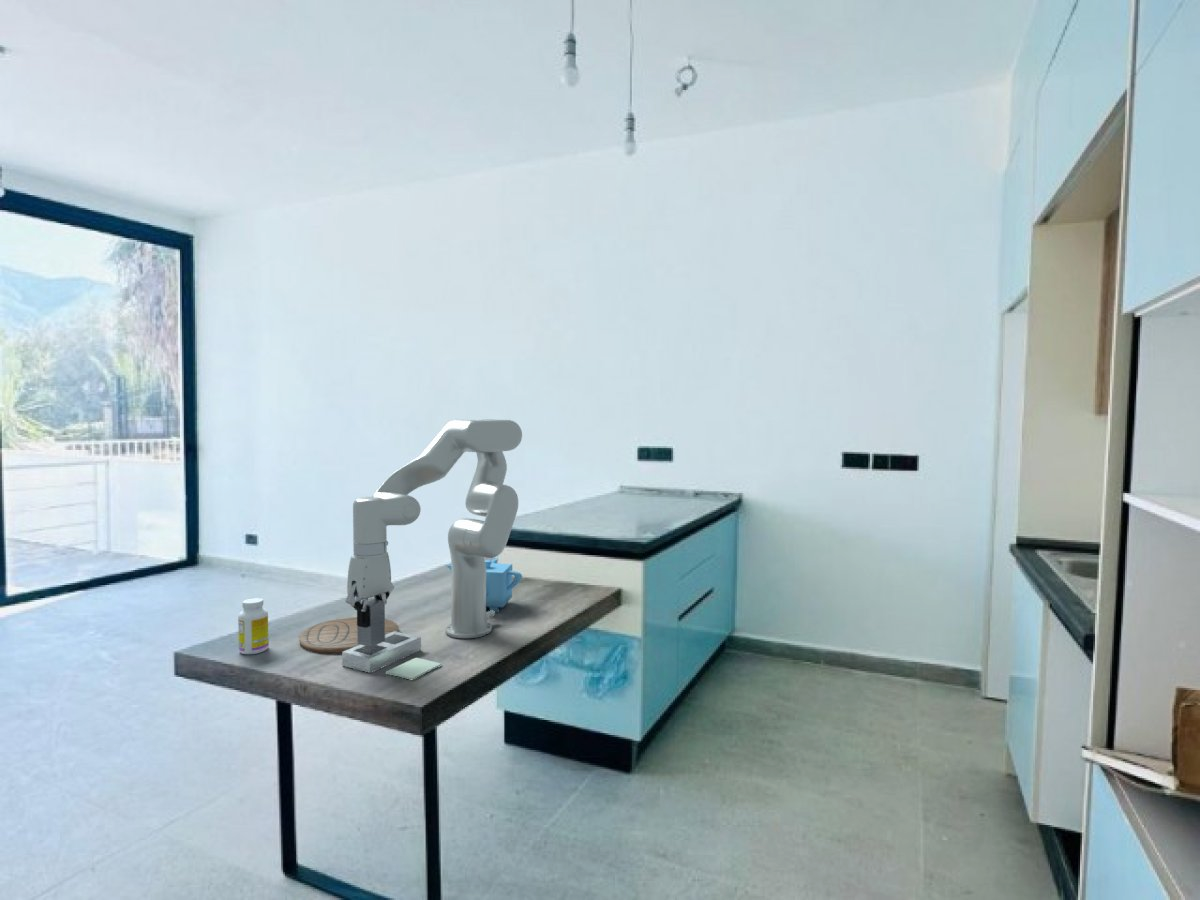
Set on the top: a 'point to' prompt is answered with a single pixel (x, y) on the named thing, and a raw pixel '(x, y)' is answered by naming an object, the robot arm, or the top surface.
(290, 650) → the top surface
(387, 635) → the grey cinder block
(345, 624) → the trivet
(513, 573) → the teakettle
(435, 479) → the robot arm
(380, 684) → the top surface
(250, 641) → the supplement bottle
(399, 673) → the sage pad
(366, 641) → the zinc peg
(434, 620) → the top surface
